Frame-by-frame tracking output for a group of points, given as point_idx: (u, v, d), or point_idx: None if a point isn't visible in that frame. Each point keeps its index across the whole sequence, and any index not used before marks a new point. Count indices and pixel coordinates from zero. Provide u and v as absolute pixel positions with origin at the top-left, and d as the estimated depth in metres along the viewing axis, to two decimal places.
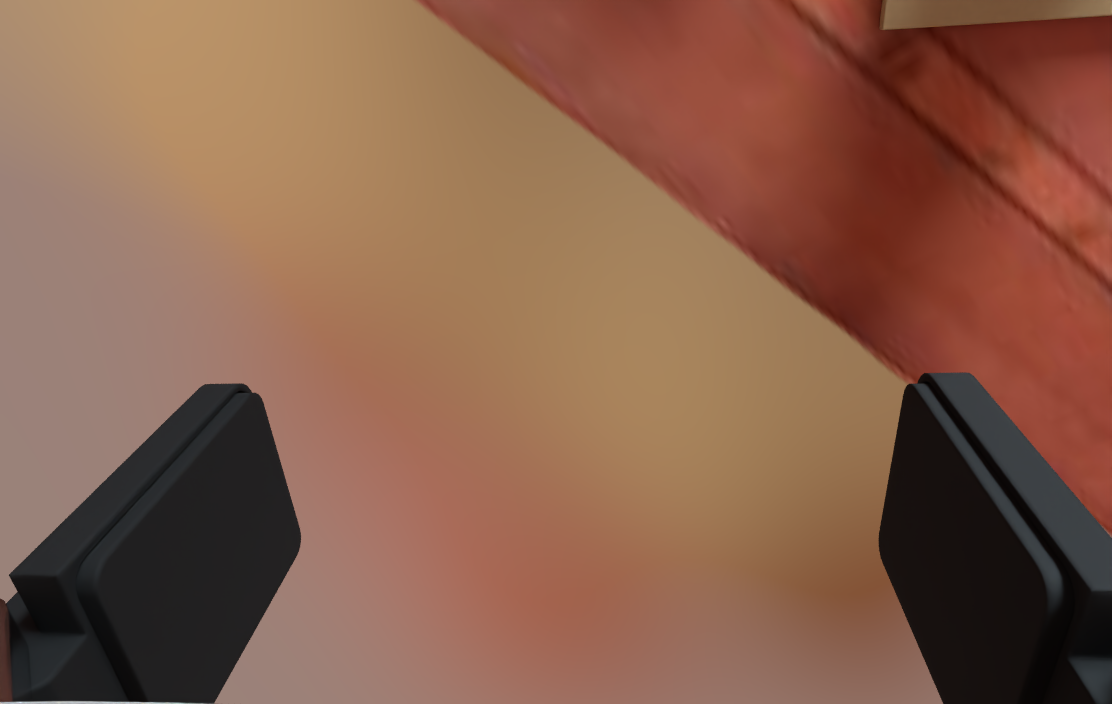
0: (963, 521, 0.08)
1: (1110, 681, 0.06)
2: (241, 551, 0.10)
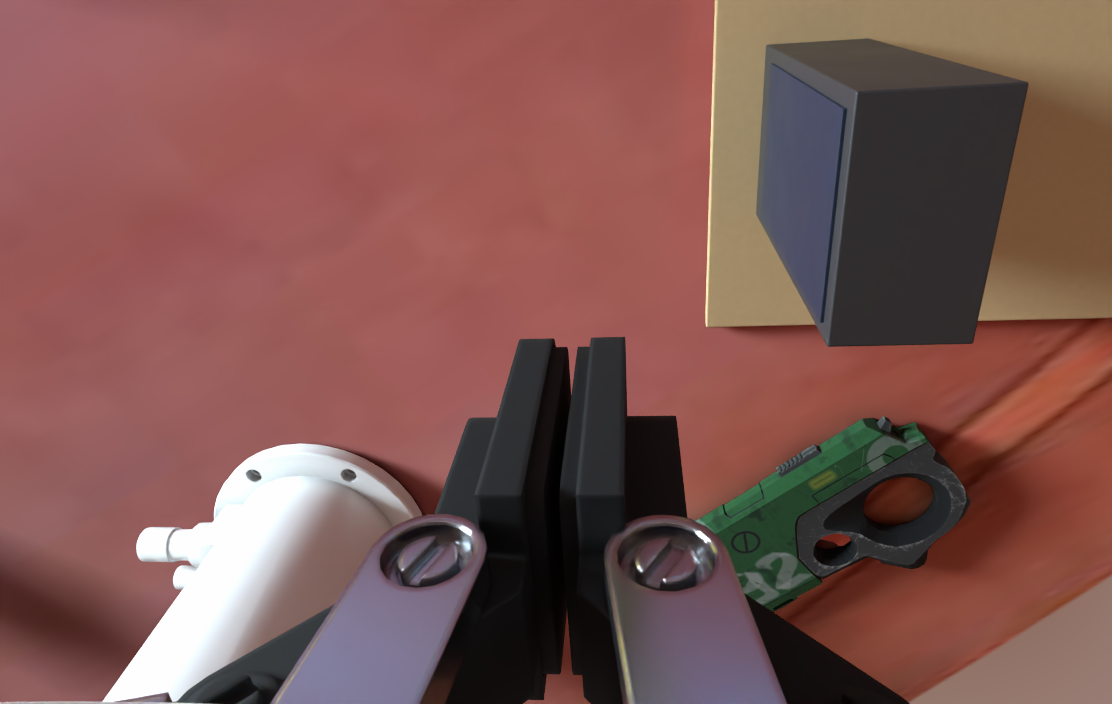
0: None
1: (599, 569, 0.08)
2: None
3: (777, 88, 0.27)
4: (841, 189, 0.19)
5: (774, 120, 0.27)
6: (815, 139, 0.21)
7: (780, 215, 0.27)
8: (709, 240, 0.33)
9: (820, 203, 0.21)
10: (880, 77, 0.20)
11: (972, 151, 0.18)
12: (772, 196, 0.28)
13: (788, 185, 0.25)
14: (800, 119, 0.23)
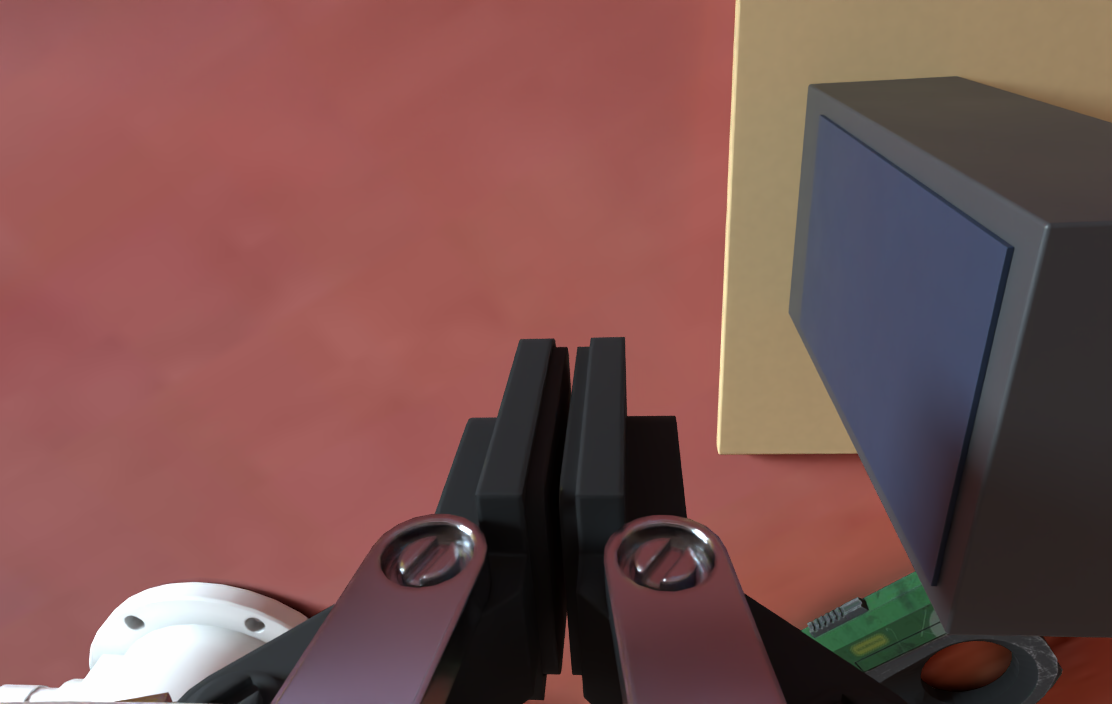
0: None
1: (599, 569, 0.08)
2: None
3: (832, 154, 0.18)
4: (993, 388, 0.10)
5: (825, 200, 0.18)
6: (921, 268, 0.13)
7: (836, 346, 0.18)
8: (723, 345, 0.24)
9: (934, 384, 0.12)
10: (1060, 177, 0.11)
11: None
12: (820, 309, 0.19)
13: (854, 310, 0.16)
14: (883, 220, 0.14)
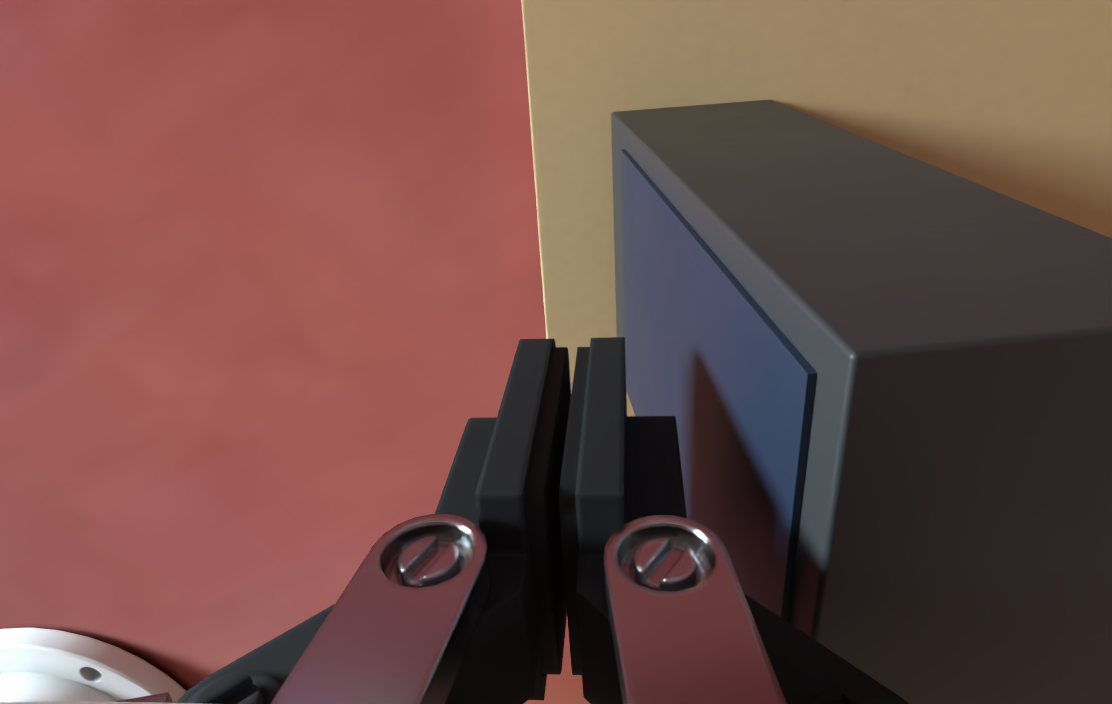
0: None
1: (599, 569, 0.08)
2: None
3: (634, 199, 0.15)
4: (809, 553, 0.08)
5: (633, 250, 0.16)
6: (722, 365, 0.10)
7: None
8: None
9: (746, 518, 0.09)
10: (872, 258, 0.08)
11: None
12: (640, 374, 0.16)
13: (667, 389, 0.14)
14: (683, 291, 0.12)
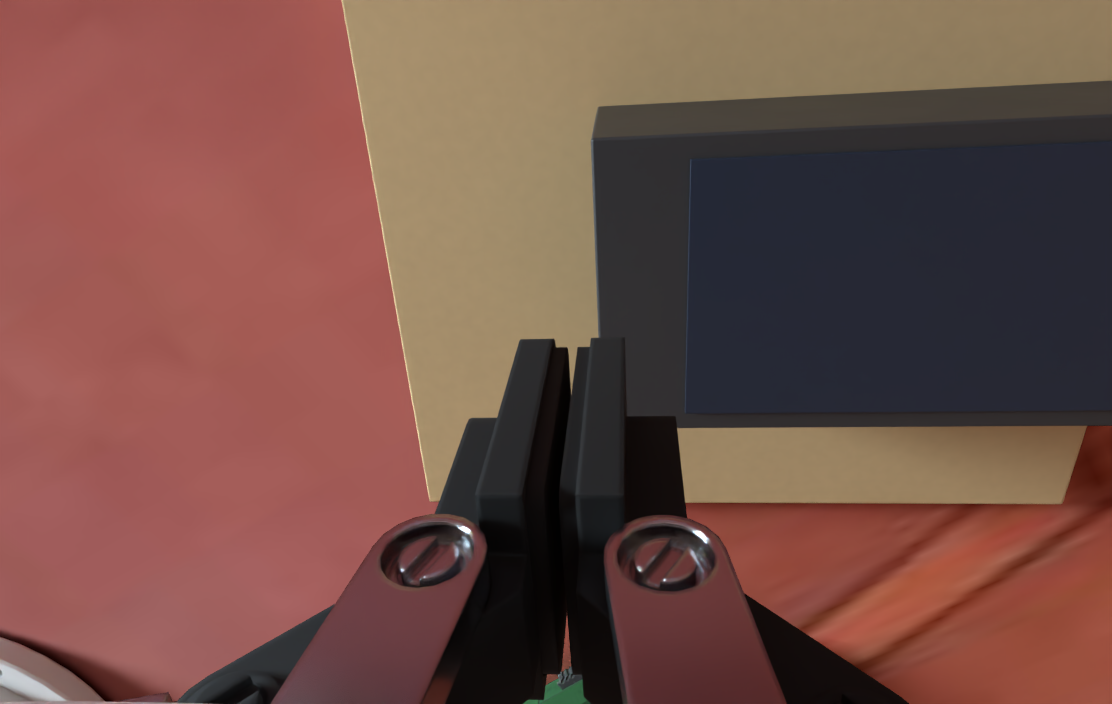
0: None
1: (599, 569, 0.08)
2: None
3: (767, 191, 0.15)
4: None
5: (759, 245, 0.15)
6: (1092, 206, 0.15)
7: (855, 366, 0.17)
8: (410, 389, 0.23)
9: None
10: None
11: None
12: (779, 358, 0.17)
13: (906, 311, 0.16)
14: (979, 201, 0.15)
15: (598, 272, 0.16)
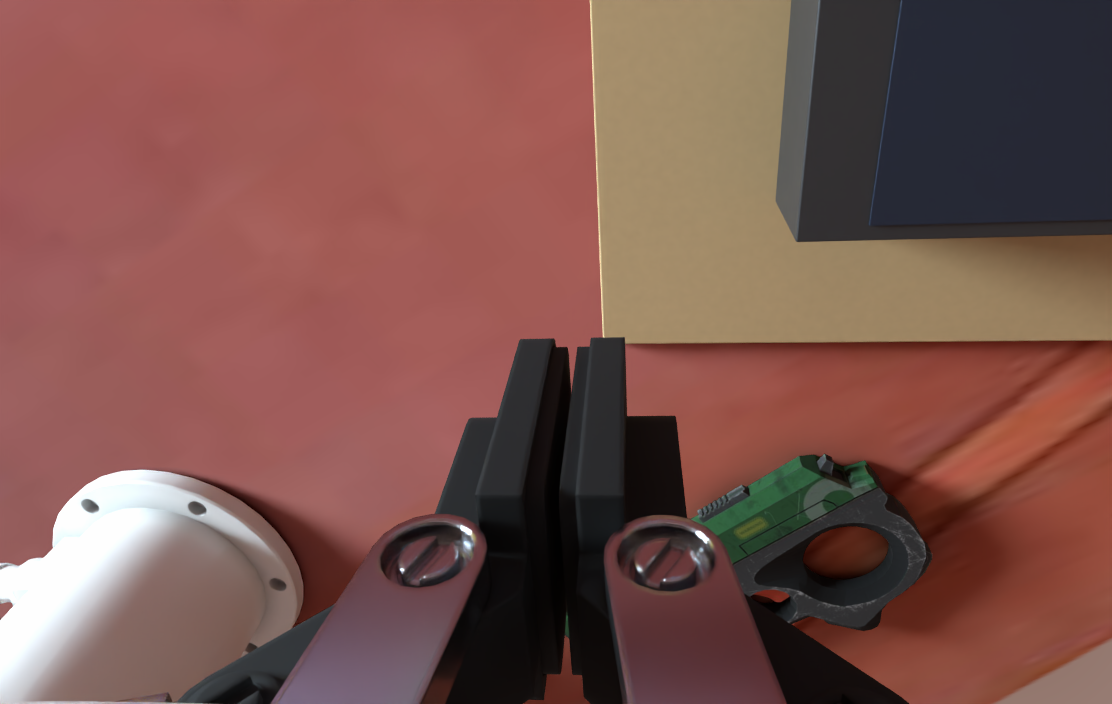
0: None
1: (599, 569, 0.08)
2: None
3: (963, 21, 0.18)
4: None
5: (951, 70, 0.19)
6: None
7: (1019, 179, 0.20)
8: (599, 237, 0.27)
9: None
10: None
11: None
12: (955, 173, 0.20)
13: (1067, 128, 0.19)
14: None
15: (811, 97, 0.20)
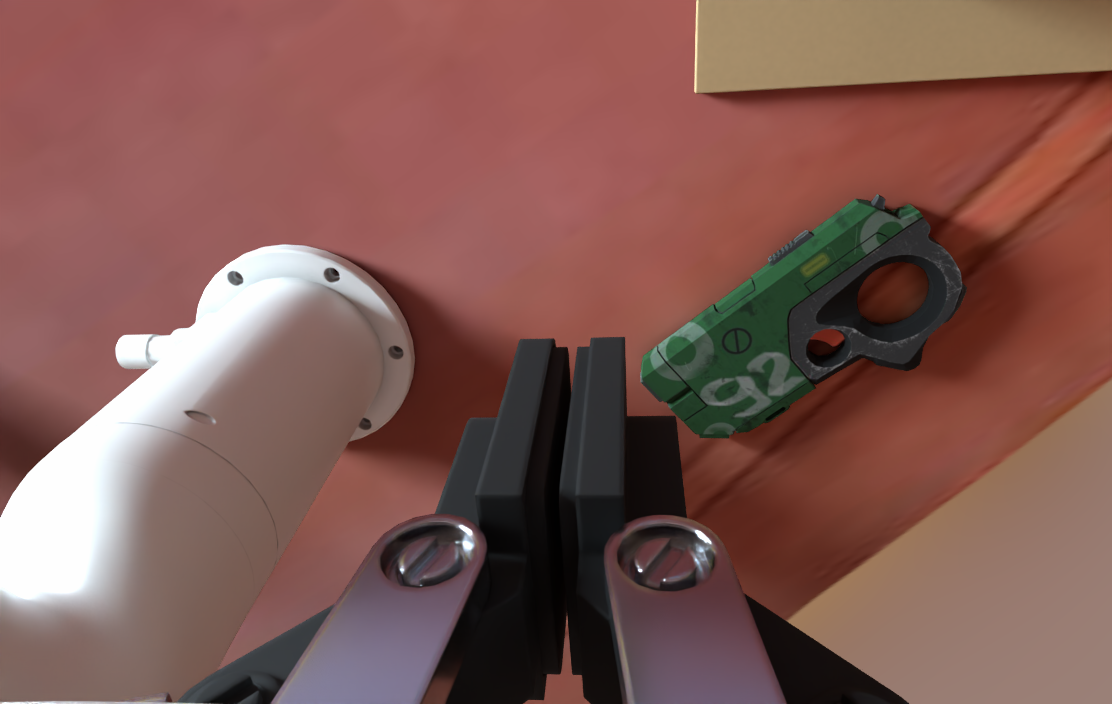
0: None
1: (599, 569, 0.08)
2: None
3: None
4: None
5: None
6: None
7: None
8: None
9: None
10: None
11: None
12: None
13: None
14: None
15: None
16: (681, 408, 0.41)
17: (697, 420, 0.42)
